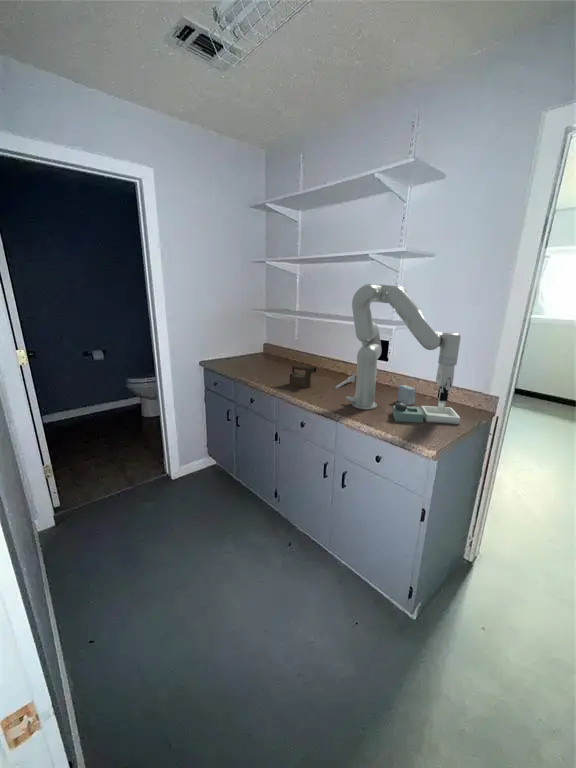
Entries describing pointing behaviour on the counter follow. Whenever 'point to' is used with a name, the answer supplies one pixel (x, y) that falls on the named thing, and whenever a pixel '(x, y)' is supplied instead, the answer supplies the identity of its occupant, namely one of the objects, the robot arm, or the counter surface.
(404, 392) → the medicine box
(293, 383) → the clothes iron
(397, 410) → the green slotted box
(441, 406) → the pin
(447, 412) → the tray
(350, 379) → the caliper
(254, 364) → the counter surface
